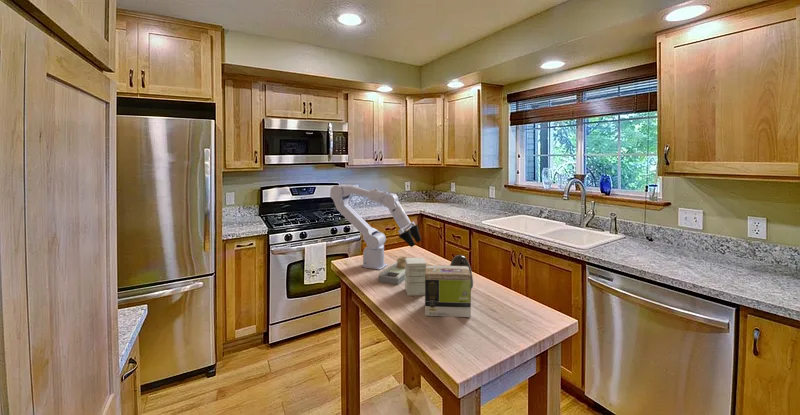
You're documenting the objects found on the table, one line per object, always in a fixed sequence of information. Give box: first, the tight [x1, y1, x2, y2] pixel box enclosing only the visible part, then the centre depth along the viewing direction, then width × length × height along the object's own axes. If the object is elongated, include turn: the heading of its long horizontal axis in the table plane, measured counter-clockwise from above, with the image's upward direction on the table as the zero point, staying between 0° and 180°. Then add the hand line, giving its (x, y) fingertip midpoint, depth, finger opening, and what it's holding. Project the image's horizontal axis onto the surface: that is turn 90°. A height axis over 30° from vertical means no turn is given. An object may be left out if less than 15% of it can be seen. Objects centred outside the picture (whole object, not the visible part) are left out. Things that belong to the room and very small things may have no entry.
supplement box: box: [404, 257, 427, 297], centre depth 139 cm, size 7×7×13 cm
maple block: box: [396, 255, 410, 268], centre depth 162 cm, size 4×4×4 cm
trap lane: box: [378, 261, 405, 286], centre depth 160 cm, size 9×24×4 cm, turn 156°
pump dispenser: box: [449, 254, 474, 290], centre depth 137 cm, size 10×10×15 cm
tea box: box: [424, 264, 472, 318], centre depth 122 cm, size 15×10×15 cm, turn 84°
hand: (416, 243), depth 162 cm, fingers open, 7 cm apart
